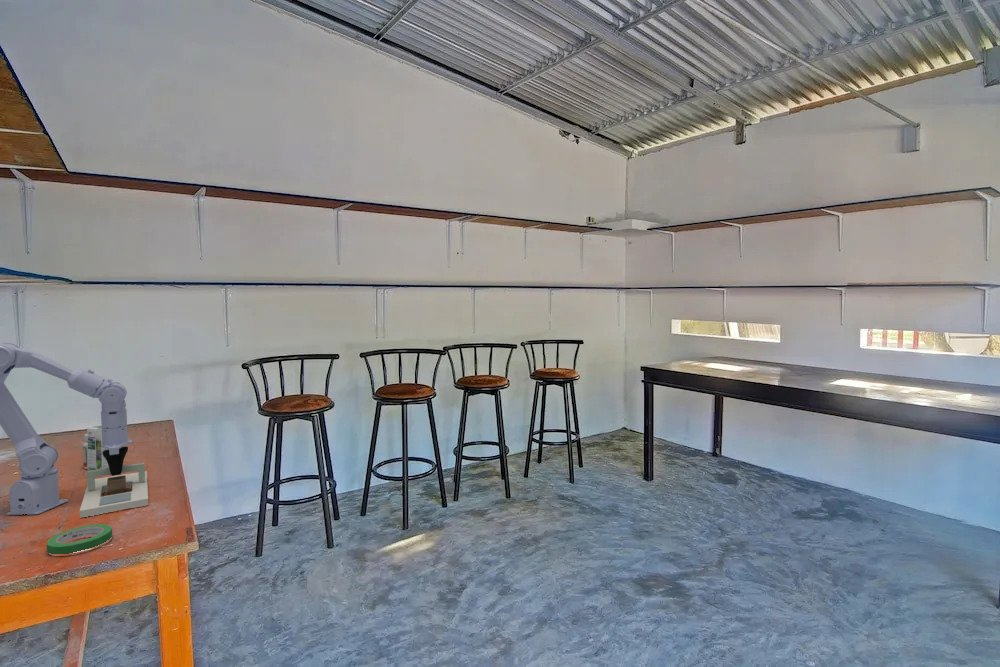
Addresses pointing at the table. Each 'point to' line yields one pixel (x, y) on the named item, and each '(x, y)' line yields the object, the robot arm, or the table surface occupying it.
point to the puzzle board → (114, 496)
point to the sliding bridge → (106, 471)
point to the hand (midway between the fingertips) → (116, 474)
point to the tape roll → (59, 547)
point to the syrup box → (95, 449)
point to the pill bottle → (85, 452)
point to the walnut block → (116, 485)
